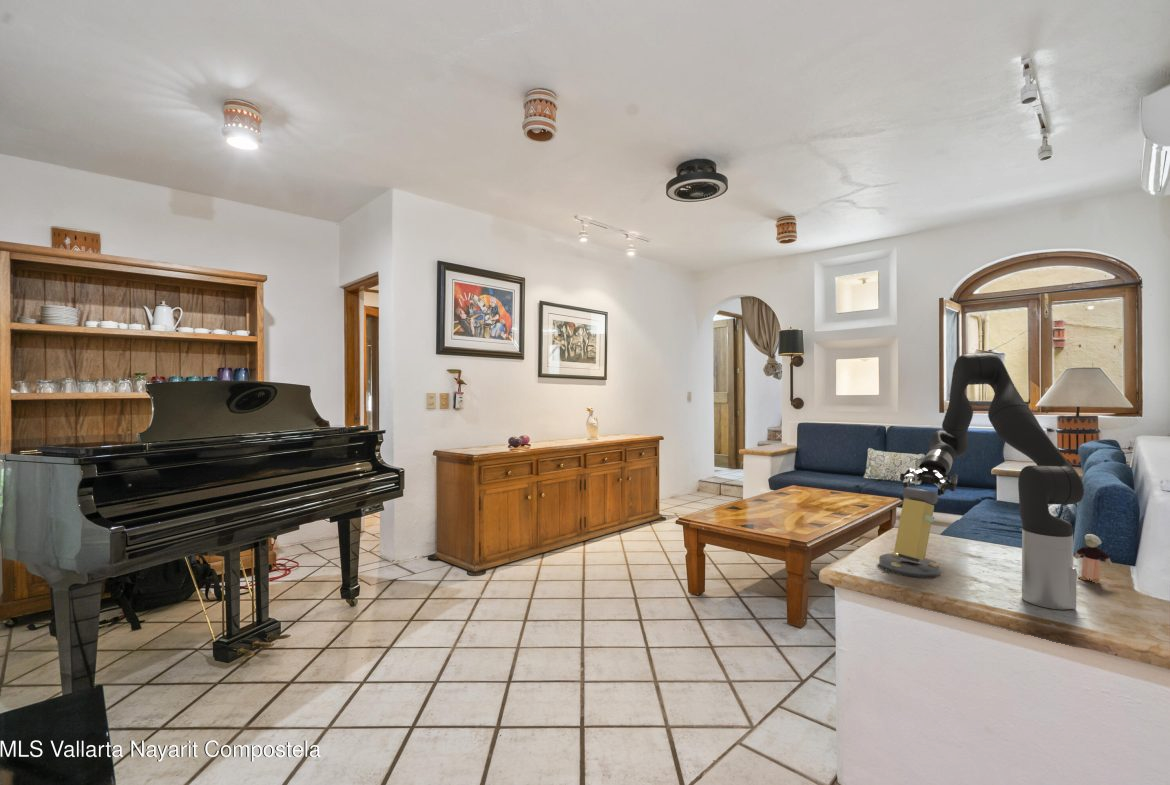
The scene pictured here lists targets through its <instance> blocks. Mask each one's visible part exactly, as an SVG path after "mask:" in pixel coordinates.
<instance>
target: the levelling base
mask: <svg viewBox="0 0 1170 785" xmlns="http://www.w3.org/2000/svg"><path fill="white" fill-rule="evenodd" d="M878 560H879V561H878V562H879V567H880V566H881V567H880V568H882V567H883V568H884V569H883V568H882V569H883V570H885V569H887V570H889V571H892V572H895V573H894V574H896V573H899V574H902V575H901V576H904V575H906V576H905V577H909V576H912V577H911V578H918V577H924V578H923V579H927V578H926V577H932V578H936V576H937V577H939V576H940V575H941V563H938V562H937V561H935V560H933V559H929V558H926V557H925V561H924V560H919V562H916V561H912V560H908V559H905V558H901V557H899V554H898V553H895V552H894V551H892V552H891V553H883V554H881V555H880V556H879V557H878ZM887 570H886V571H887ZM889 571H888V572H889ZM892 572H891V573H892ZM899 574H898V575H899Z"/></svg>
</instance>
